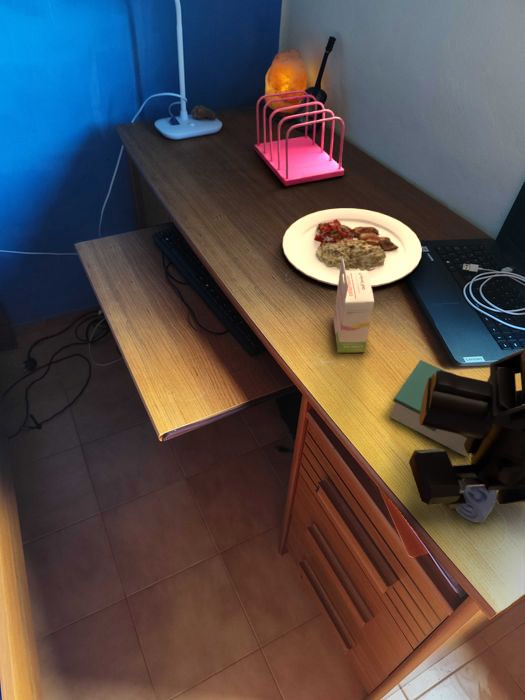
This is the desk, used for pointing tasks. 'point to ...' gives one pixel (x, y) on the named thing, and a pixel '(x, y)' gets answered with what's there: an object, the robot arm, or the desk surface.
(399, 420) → the box
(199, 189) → the desk surface
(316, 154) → the file sorter
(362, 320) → the ink box
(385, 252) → the plated food
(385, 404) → the desk surface
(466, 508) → the decorative dice
